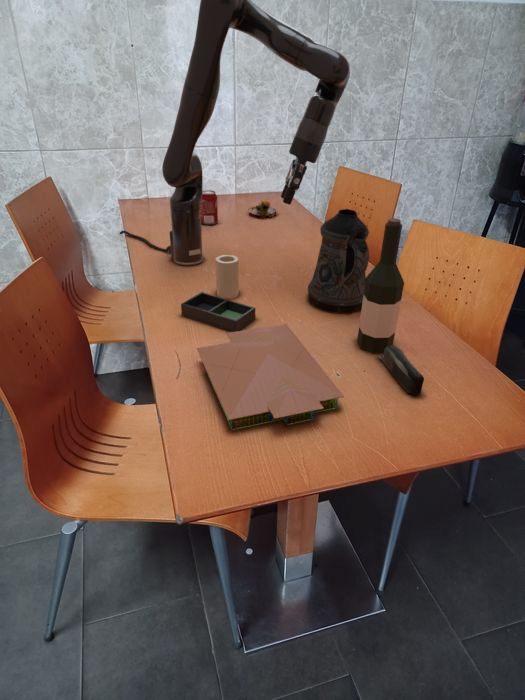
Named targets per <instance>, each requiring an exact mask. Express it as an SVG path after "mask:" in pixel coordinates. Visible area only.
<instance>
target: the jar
mask: <svg viewBox="0 0 525 700" xmlns="http://www.w3.org/2000/svg"><path fill="white" fill-rule="evenodd" d="M239 265H240V264H239V257H238V256H236V255H232V254H222V255H219V256H216V257H215V284H216V286H215V287H216V296H217V297H221V298H224V299H228V300H231V299H234V298H237V297H238V296H239V293H240V289H239V288H240V286H239V285H240V279H239V277H240V276H239V275H240V274H239V272H240V271H239V270H240V269H239V267H240V266H239Z"/></svg>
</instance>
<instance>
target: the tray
mask: <svg viewBox="0 0 525 700" xmlns="http://www.w3.org/2000/svg"><path fill="white" fill-rule="evenodd" d="M180 309H181V311H180V312H181V317H184V318H188V319H190V320H194V321H198V322H200V323H204V324H206V325H210V326H213V327H216V328H219V329H222V330H224V331H228V332H237V331H243V329H244V328H245V327H247V326H248V325H250V324H251V323H253V322H254V321H255V320H256V307H255V306H251V305H248V304H244V303H241V302H238V301H234V300H231V299H224V298H221V297H218V296H217V295H214V294H210V293H208V292H203V291H201V292H199V293H197V294H196V295H194V296H192V297H190V298H189V299H186V300H185V301H183V302H182V303H181V304H180Z"/></svg>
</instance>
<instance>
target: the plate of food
mask: <svg viewBox="0 0 525 700" xmlns="http://www.w3.org/2000/svg"><path fill="white" fill-rule="evenodd" d="M269 197H270V196H268V198H267V199H261V200H260V202H258V205H256V206H252V207H249V208H248V209H247V212H248V213H250V214H252V215H254V216H259V217H260V219H262V220H263V219H267V216H268V218H273V217H274V216H277V209H276V208H274V207H271V203H270V201H269V200H268V199H269Z"/></svg>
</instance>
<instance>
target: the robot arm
mask: <svg viewBox="0 0 525 700" xmlns="http://www.w3.org/2000/svg"><path fill="white" fill-rule="evenodd" d="M230 29H233V30H235V31H239V32H241V33H243V34H246V35H248V36H250V37H252V38H253V39H255V40H257V41H258V42H260V43H261V44H262V45H264V47H266V48H267V49H268V50H269V51H271V53H273V54H274V55H275V56H277V57H278V58H279V59H281V60H282V61H284V62H286V63H287V64H289V65H291V66H292V67H294V68H296V69H298V70H299V71H303V72H307V73H308V74H310V75H312V76H313V77H315V78H317V79H318V83H317V85H316V88H315V90H314V93H313V94H312V96H311V97H310V99H309V100H308V103H307V106H306V108H305V111H304V114H303V116H302V118H301V120H300V122H299V124H298V126H297V129H296V132H295V133H294V134H295V135H294V136H293V140H292V142H291V144H290V147H289V150H288V153H289V154H290V155H291V156H294V157H295V159H293V160H292V161H291V162H290V165H289V167H288V168H289V169H288V171H287V174H286V177H285V182H284V186H283V189H282V191H281V195H280V198H281V199H282V202H283V203H284V204H285V205H291V204H292V202H293V199H294V197H295V194H296V193H297V191H298V190H299V189H300V187H301V184H302V182H303V178H304V176H305V174H306V172H307V168H308V166H307V162H309V163H311V164H316V162H317V160H318V158H319V155H320V153H321V150H322V148H323V146H324V142H325V141H326V138H327V135H328V132H329V131H328V130H329V127H330V125H331V122H332V120H333V118H334V115H335V112H336V109H337V105H338V104H339V101H340V100H341V98H342V96H343V93H344V92H345V90H346V87H347V85H348V82H349V79H350V77H351V69H350V63H349V60H348V59H347V58H346V57H345V55H343V54H342V53H340V52H338V51H337V50H335V49H333V48H331V47H328V46H326V45H324V44H321V43H319V42H317V41H316V40H314V39H313V38H311V37H309V36H308V35H306V34H305V33H303V32H301V31H300V30H297V29H296V28H295V27H292V26H291V25H289V24H288V23H285V22H283V21H282V20H280V19H278V18H276V17H274V16H273V15H271V14H270V13H268V12H266V11H265V10H264V9H263V8H261V7H260V6H258V5H257V4H256V3H255V2H254V1H252V0H200V3H199V8H198V17H197V24H196V31H195V37H194V43H193V47H192V52H191V55H190V59H189V62H188V67H187V72H186V74H185V75H186V76H185V79H184V82H183V86H182V90H181V95H180V100H179V105H178V109H177V114H176V118H175V122H174V127H173V131H172V135H171V138H170V140H169V143H168V146H167V149H166V152H165V155H164V157H163V161H162V165H161V166H162V168H161V171H162V172H161V174H162V176H163V179H164V181H165V183H166V184H167V185H168V186H170V187H171V188H174V191H173V193H172V195H171V196H170V198H169V210H170V211H169V213H170V223H171V225H170V226H171V230H170V231H169V243H170V244H169V245H168V246H166V248H162V247H159V246H157V245H154V244H152V243H151V242H150V241H149V240H148V239H146V238H144V237H142V236H139V235H137V234H133V233H130V232H128V231H127V230H121V231H120V232H119V235H123V234H126V235H127V236H129V237H131V238H134V239H137V240H140V241H142V242H144V243H146V244H147V245H148V246H149V247H151V248H153V249H155V250H157V251H160V252H163V253H167V252H168V255H170V257H171V258H170V259H171V261H173V262H174V263H175V264H176V265H181V266H196V265H199V264H201V263H202V262H203V261H204V256H203V255H204V254H203V236H202V235H203V234H202V233H203V232H202V223H201V210H200V202H201V199H202V191H204V189H203V185H204V184H203V182H204V181H203V165H202V163H201V162H202V161H201V159H200V158H199V156H198V155H197V154H196V153H195V152H194V150H195V149H196V146H197V145H196V144H197V142H198V140H199V138H200V137H201V135H202V134H203V132H204V130H205V129H206V127H207V125H208V123H209V122H210V120H211V118H212V117H213V113H214V111H215V108H216V104H217V101H218V97H219V92H220V87H221V60H222V59H221V57H222V53H223V48H224V44H225V41H226V38H227V36H228V33H229V30H230Z"/></svg>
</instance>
